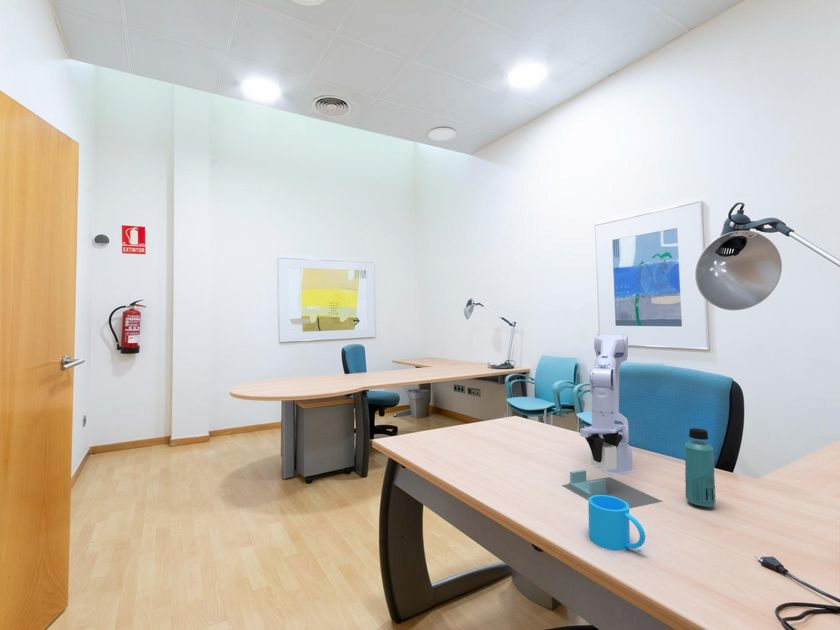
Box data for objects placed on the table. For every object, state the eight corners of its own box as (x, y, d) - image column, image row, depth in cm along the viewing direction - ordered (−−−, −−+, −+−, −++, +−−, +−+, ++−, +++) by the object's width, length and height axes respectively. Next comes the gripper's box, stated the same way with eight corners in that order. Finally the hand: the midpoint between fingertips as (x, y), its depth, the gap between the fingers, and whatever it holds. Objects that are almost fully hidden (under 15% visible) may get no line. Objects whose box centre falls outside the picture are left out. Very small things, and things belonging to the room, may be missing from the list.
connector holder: (585, 482, 120) (585, 469, 120) (607, 493, 112) (607, 479, 112) (568, 485, 117) (568, 472, 118) (590, 497, 109) (590, 482, 110)
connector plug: (602, 462, 116) (602, 441, 116) (616, 468, 111) (616, 446, 111) (591, 464, 114) (591, 443, 114) (605, 470, 110) (605, 448, 110)
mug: (581, 537, 90) (580, 500, 90) (602, 527, 94) (602, 492, 95) (634, 564, 80) (633, 522, 80) (655, 551, 84) (655, 512, 84)
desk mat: (609, 478, 124) (609, 477, 124) (662, 503, 107) (662, 501, 107) (561, 487, 117) (561, 485, 118) (609, 514, 101) (609, 512, 101)
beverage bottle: (707, 515, 100) (705, 434, 100) (679, 504, 106) (678, 428, 106) (721, 509, 103) (719, 430, 103) (693, 499, 109) (692, 425, 109)
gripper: (593, 416, 107) (594, 468, 106) (634, 412, 112) (635, 461, 111) (574, 411, 113) (575, 459, 113) (614, 407, 118) (614, 453, 118)
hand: (603, 460), depth 113 cm, fingers closed on connector plug, 4 cm apart
